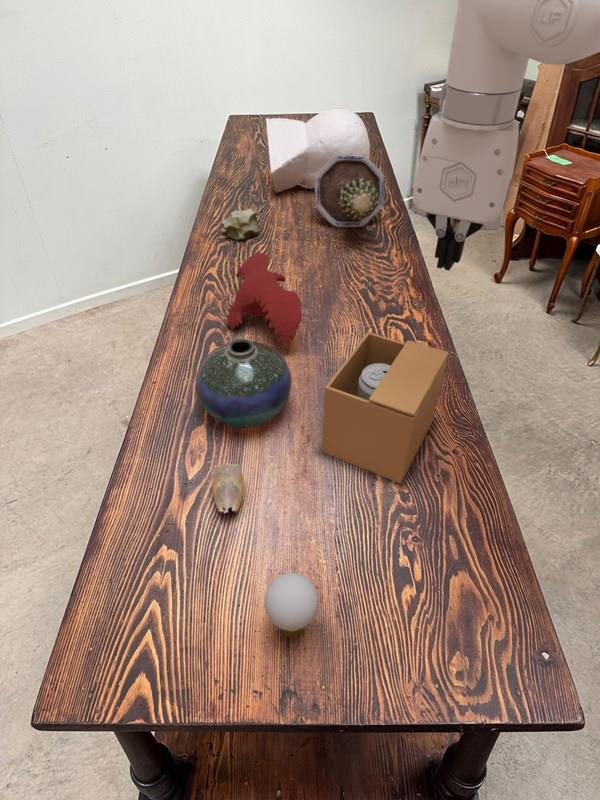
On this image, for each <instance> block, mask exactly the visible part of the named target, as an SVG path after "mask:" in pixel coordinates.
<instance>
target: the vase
mask: <svg viewBox="0 0 600 800" xmlns="http://www.w3.org/2000/svg"><path fill="white" fill-rule="evenodd" d="M292 384H293V378H292V372H291V369H290V367H289V364H288V363H287V360H286V359H285V358H284V356H283V355H282V354H280V352H279V351H277V350H275V348H273V347H271V346H269V345H268V344H264V343H262V342H258V341H253V340H249V339H246V338H238V339H234V340H232V341H230V342H228V343H224V344H222V345H220V346H218V347H216V348H215V349H213V350H211V352H209V353H208V354H207V355H206V357H205V358H204V359H203V360H202V361H201V363H200V365H199V367H198V369H197V373H196V377H195V391H196V395H197V398H198V400H199V402H200V404H201V406H202V408H203V409H204V410H205V412H206V413H207V414H208V415H209V416H210V417H212V419H214V420H215V421H217V422H219V423H220V424H222V425H224V426H227V427H231V428H236V429H237V428H238V429H250V428H256V427H259V426H262V425H264V424H267V423H269V422H270V421H272V420H273V419H274V418H276V417H277V416H278V415H279V414H280V413H281V412H282V411H283V409H284V408H285V406H286V405H287V403H288V401H289V398H290V395H291V392H292Z"/></svg>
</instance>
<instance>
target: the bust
mask: <svg viewBox="0 0 600 800" xmlns="http://www.w3.org/2000/svg"><path fill="white" fill-rule="evenodd" d="M265 121H266V133H267V144H268V145H267V146H268V155H269V156H268V157H269V165H270V166H269V167H270V174H271V175H270V176H271V180H272V185H273V189H274V193H275V194H278V193H280V192H283V191H285V190H283V189H286V190H289V189H292V188H294V187H296V186H298V187H301V188H303V189H310V190H314V189H313V188H315V176H316V175H317V174H318V172H319V171H320V170H321V169H322V168H323V167H324V166H325V165H326V164H327V163H328V162H329V161H330V160H331V159H332V158H333V157H334V156H336V155H344V154H345V155H363V156H365V157H366V158H367V159H369V160H370V155H371V154H370V153H371V150H370V149H371V146H370V144H371V143H370V140H369V135H368V131H367V128H366V126H365V124H364V121H363V120H362V118H361V117H360V116H359V115H358V114H357V113H356V112H355V111H353V110H350V109H347V108H337V107H336V108H335V107H334V108H330V109H327V110H324V111H321V112H319V113H318V114H316V115H314V116H312V117H311V118H310V119H308V120H307V121H306V122H304V121H303V120H298V119H294V118H292V119H290V118H284V117H283V118H282V117H276V118H275V117H273V118H268V117H266V118H265ZM299 183H300V184H301V185H304V186H307V187H312V188H307V187H304V186H301V185H298V184H299ZM288 188H289V189H288ZM278 190H282V191H278ZM275 191H276V192H275Z"/></svg>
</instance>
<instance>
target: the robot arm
mask: <svg viewBox="0 0 600 800" xmlns="http://www.w3.org/2000/svg"><path fill="white" fill-rule="evenodd" d="M456 10H457V11H456V16H455V22H454V28H453V34H452V41H451V48H450V51H449V59H448V64H447V73H446V78H445V82H444V83H443V84H442V85H439V86H432V87H431V89H430V91H429V92H430V93H429V101H432V102H436V104H438V107H439V110H438V112H437V113H435V114H433V115H432V117H431V119H430V121H429V125H428V128H427V130H426V134H425V137H424V140H423V145H422V149H421V153H420V156H419V161H418V166H417V170H416V174H415V178H414V185H413V189H412V198H411V199H412V201H411V202H412V206H411V211H412V212H413V213H414V214H416V215H418V216H420V217H423V218H425V219H427V220H428V221H429V223H430V224H431V226H432V228H433V229H434V230H435V236H436V237H437V240H436V241H437V242H436V247H435V253H434V258H436V259H437V263H436V268H437V269H444V270H445V271H451V270H452V268H453V266H454V265H455V263H456V264H459V263H460V261H461V260H462V259H461V258H462V256H463V252H464V247H465V243H466V239H467V238H469V237H470V236H472V235H474V234H475V233H477V232H478V231H498V230H500V229H501V227H502V226H503V224H504V207H506V203H507V200H508V198H509V194H510V190H511V184H512V180H513V175H514V170H515V164H516V160H517V159H516V158H517V152H518V143H519V134H520V133H519V132H520V122H519V121H518V120H517V119H515V115H516V112H517V108H518V104H519V100H520V97H521V93H522V87H523V85H524V80H525V76H526V72H527V68H528V64H529V60H533V61H534V62H535V61H536V62H538V63H542V64H546V65H552V66H561V65H562V66H563V65H567V64H572V63H575V62H578V61H580V60H583V59H586V58H589V57H591V56H593V55H596V54H598V53H600V0H458V4H457V9H456ZM453 220H458V221H459V220H460V221H459V223H458V226H457V228H456V230H455V229H454V227H453ZM454 230H455V231H454Z"/></svg>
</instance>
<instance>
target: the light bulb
mask: <svg viewBox="0 0 600 800" xmlns="http://www.w3.org/2000/svg"><path fill="white" fill-rule="evenodd" d="M263 600H264V601H263V603H264V605H263V606H264V610H265V613H266V615H267V617H268V619H269V620H270V622H271V623H272V624H273V625H275V626H276V627H277V628H279V629H280V630H281V633H282V634H283V635H284V636H285V637H287V638H291V639H293V638H297V637H298V636H300V635H301V634H302V632H303V630H304V628H305V627H307V626H308V625H309V624H310V623H311V622H312V621H313V620H314V618H315V616H316V615H317V612H318V609H319V596H318V591H317V589H316V586H315V585H314V584H313V582H312V581H311V580H310V579H309V578H308V577H306V576H305V575H303V574H300V573H298V572H286V573H282V574H280V575H279V576H277V577H275V578H274V579H272V581H271V582H270V584H269V585H268V587H267V588H266V591H265V594H264V599H263Z"/></svg>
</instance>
